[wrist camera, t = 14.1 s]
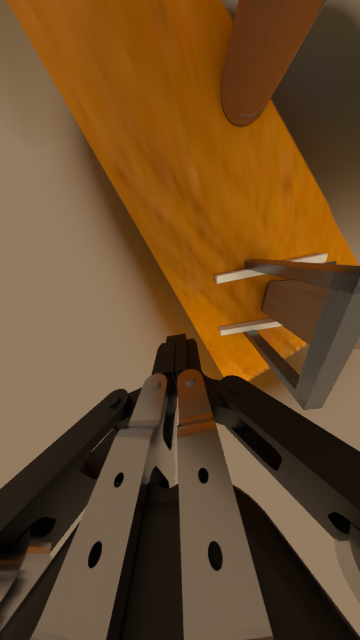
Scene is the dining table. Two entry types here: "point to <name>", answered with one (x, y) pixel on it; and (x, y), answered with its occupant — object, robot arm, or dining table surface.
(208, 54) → the dining table surface
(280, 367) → the arch
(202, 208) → the dining table surface
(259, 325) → the walled lane
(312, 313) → the wooden block
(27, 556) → the robot arm
